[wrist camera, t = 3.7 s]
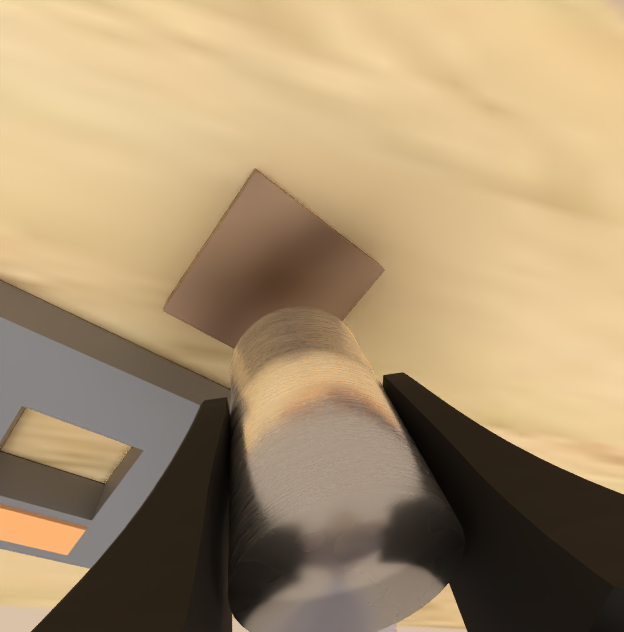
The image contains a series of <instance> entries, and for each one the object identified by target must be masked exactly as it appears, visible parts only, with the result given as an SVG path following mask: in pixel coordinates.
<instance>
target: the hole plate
mask: <svg viewBox="0 0 624 632" xmlns="http://www.w3.org/2000/svg"><path fill="white" fill-rule="evenodd" d="M224 397H227V399H228V405H229V411H230V406H231V390H230V389H227V388H225V387H223V386H221V385H219V384H217V383H215V382H213V381H211V380H209V379H206V378H204V377H202V376H200V375H198V374H196V373H194V372H192V371H190V370H188V369H186V368H183V367H181V366H179V365H177V364H175V363H173V362H171V361H169V360H167V359H165V358H162V357H160V356H158V355H156V354H154V353H152V352H150V351H148V350H146V349H144V348H142V347H139V346H137V345H135V344H133V343H131V342H129V341H127V340H125V339H123V338H121V337H118V336H116V335H114V334H112V333H110V332H108V331H106V330H104V329H102V328H100V327H97V326H95V325H93V324H91V323H89V322H87V321H85V320H83V319H81V318H79V317H77V316H74V315H72V314H70V313H68V312H66V311H64V310H62V309H60V308H58V307H56V306H53V305H51V304H49V303H47V302H45V301H43V300H41V299H39V298H37V297H35V296H33V295H30V294H28V293H26V292H24V291H22V290H20V289H18V288H16V287H14V286H12V285H9V284H7V283H5V282H3V281H1V280H0V450H1V448H2V446H3V445H4V443H5V441H6V440H7V438H8V436H9V435H10V433H11V431H12V430H13V428H14V426H15V425H16V423H17V421H18V420H19V418H20V416H21V415H22V413H23V411H24V410H25V408H29V409H31V410H34V411H37V412H40V413H42V414H45V415H48V416H51V417H53V418H56V419H59V420H61V421H64V422H67V423H70V424H72V425H75V426H78V427H81V428H83V429H86V430H89V431H92V432H94V433H97V434H100V435H103V436H105V437H108V438H111V439H114V440H116V441H119V442H122V443H125V444H127V445H130V446H133V447H132V448H131V449H130V451H129V452H128V453H127V455H126V456H125V458H124V459H123V460H122V462H121V463H120V464H119V466H118V467H117V468H116V470H115V471H114V473H113V474H112V475H111V477H110V478H109V479H108V481H107V482H106V484H102V483H99V482H96V481H93V480H90V479H86V478H83V477H80V476H77V475H74V474H70V473H67V472H64V471H61V470H58V469H55V468H51V467H48V466H45V465H42V464H39V463H35V462H32V461H29V460H26V459H23V458H20V457H16V456H13V455H10V454H7V453H4V452H0V549H4V550H9V551H13V552H18V553H22V554H27V555H31V556H36V557H40V558H45V559H49V560H54V561H58V562H63V563H67V564H72V565H77V566H81V567H86V568H90V569H91V568H92V566H93V565H94V564H95V563H96V562H97V561H98V560H99V558H100V557H101V556H102V555H103V554H104V552H105V551H106V550H107V549H108V548H109V546H110V545H111V544H112V543H113V542H114V540H115V539H116V538H117V537H118V536H119V534H120V533H121V532H122V531H123V529H124V528H125V527H126V525H127V524H128V523H129V522H130V520H131V519H132V518H133V516H134V515H135V514H136V512H137V511H138V510H139V508H140V507H141V506H142V504H143V503H144V501H145V500H146V499H147V497H148V496H149V494H150V493H151V491H152V490H153V488H154V487H155V485H156V484H157V482H158V481H159V479H160V478H161V476H162V475H163V473H164V471H165V470H166V468H167V467H168V465H169V464H170V462H171V460H172V459H173V457H174V455H175V453H176V452H177V450H178V448H179V446H180V445H181V443H182V441H183V440H184V438H185V436H186V434H187V432H188V430H189V428H190V426H191V424H192V422H193V420H194V418H195V416H196V414H197V412H198V410H199V407H200V405H201V404H202V402H203V401H204V400H209V399H217V398H224Z"/></svg>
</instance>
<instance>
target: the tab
mask: <svg viewBox="0 0 624 632" xmlns="http://www.w3.org/2000/svg"><path fill="white" fill-rule="evenodd" d="M383 271H384V269H383V268H382V267H381V266H380V265H379V264H378V263H377V262H375V261H374V260H373V259H372V258H370V257H369V256H368V255H366V254H365V253H364V252H362V251H361V250H360V249H359V248H357V247H356V246H355V245H353V244H352V243H351V242H349V241H348V240H347V239H346V238H344V237H343V236H342V235H340V234H339V233H338V232H336V231H335V230H334V229H333V228H331V227H330V226H329V225H327V224H326V223H325V222H323V221H322V220H321V219H320V218H318V217H317V216H316V215H314V214H313V213H312V212H311V211H309V210H308V209H307V208H305V207H304V206H303V205H301V204H300V203H299V202H298V201H296V200H295V199H294V198H292V197H291V196H290V195H288V194H287V193H286V192H285V191H283V190H282V189H281V188H279V187H278V186H277V185H275V184H274V183H273V182H272V181H270V180H269V179H268V178H266V177H265V176H264V175H262V174H261V173H260V172H259V171H257V170H256V169H254V171H253V172H252V174H251V175H250V177H249V178H248V180H247V181H246V183H245V184H244V186H243V187H242V189H241V190H240V192H239V193H238V195H237V196H236V198H235V199H234V201H233V202H232V204H231V205H230V207H229V208H228V210H227V211H226V213H225V214H224V216H223V217H222V219H221V220H220V222H219V223H218V225H217V226H216V228H215V229H214V231H213V232H212V234H211V235H210V237H209V238H208V240H207V241H206V243H205V244H204V246H203V247H202V249H201V250H200V252H199V253H198V255H197V256H196V258H195V259H194V261H193V262H192V264H191V265H190V267H189V268H188V270H187V271H186V273H185V274H184V276H183V277H182V279H181V280H180V282H179V283H178V285H177V286H176V288H175V289H174V291H173V292H172V294H171V295H170V297H169V298H168V300H167V301H166V303H165V306H164V309H163V311H164V312H166V313H168V314H170V315H172V316H174V317H176V318H178V319H180V320H181V321H183V322H185V323H187V324H189V325H191V326H193V327H195V328H197V329H198V330H200V331H202V332H204V333H206V334H208V335H210V336H212V337H214V338H215V339H217V340H219V341H221V342H223V343H225V344H227V345H229V346H230V347H232V348H234V349H235V347H236V345H237V343H238V341H239V339H240V338H241V336H242V335H243V334H244V333H245V331H246V330H247V329H248V328H249V327H250V326H251V325H253V324H254V323H255V322H256V321H258V320H259V319H261V318H262V317H264V316H266V315H268V314H270V313H273V312H276V311H278V310H282V309H286V308H294V307H308V308H315V309H319V310H323V311H325V312H328V313H330V314H332V315H334V316H336V317H337V318H338V319H340V320H341V321H343V319H344V318H345V317H346V316H347V315H348V313H349V312H350V311H351V310H352V309H353V307H354V306H355V305H356V304H357V303H358V301H359V300H360V299H361V298H362V297H363V295H364V294H365V293H366V292H367V291H368V289H369V288H370V287H371V286H372V285H373V283H374V282H375V281H376V280H377V279H378V277H379V276H380V275H381V274H382V273H383Z"/></svg>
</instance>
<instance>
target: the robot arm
mask: <svg viewBox="0 0 624 632" xmlns="http://www.w3.org/2000/svg"><path fill="white" fill-rule="evenodd" d="M383 388H384V390H385V392H386V393H387V395H388V397H389V399H390V401H391V402H392V404H393V406H394V408H395V409H396V411H397V413H398V415H399V416H400V418H401V420H402V422H403V423H404V425H405V427H406V429H407V430H408V432H409V434H410V436H411V437H412V439H413V441H414V443H415V444H416V446H417V448H418V450H419V451H420V453H421V455H422V457H423V459H424V460H425V462H426V464H427V466H428V467H429V469H430V471H431V473H432V474H433V476H434V478H435V480H436V481H437V483H438V485H439V487H440V488H441V490H442V492H443V494H444V495H445V497H446V499H447V501H448V502H449V504H450V506H451V508H452V509H453V511H454V513H455V515H456V516H457V518H458V520H459V522H460V524H461V526H462V528H463V531H464V536H465V549H464V554H463V558H462V561H461V563H460V566H459V567H458V569H457V571H456V573H455V575H454V576H453V577H452V579H451V580H450V581H449V584H450V587H451V589H452V592H453V594H454V597H455V600H456V602H457V605H458V608H459V610H460V613H461V616H462V618H463V621H464V624H465V626H466V629H467V632H624V494H621V493H618V492H616V491H613V490H611V489H608V488H606V487H603V486H601V485H598V484H596V483H593V482H591V481H588V480H586V479H584V478H582V477H579V476H577V475H575V474H573V473H570V472H568V471H566V470H564V469H561V468H559V467H557V466H555V465H553V464H551V463H549V462H547V461H544V460H542V459H540V458H538V457H536V456H534V455H533V454H531V453H529V452H527V451H525V450H523V449H521V448H519V447H517V446H515V445H513V444H512V443H510V442H508V441H506V440H504V439H503V438H501V437H499V436H497V435H496V434H494V433H493V432H491V431H489V430H488V429H486V428H484V427H483V426H481V425H479V424H478V423H476V422H475V421H473V420H471V419H470V418H468V417H467V416H465V415H464V414H462V413H461V412H459V411H458V410H456V409H455V408H453V407H452V406H450V405H449V404H447V403H446V402H445V401H443V400H442V399H440V398H439V397H437V396H436V395H435V394H433V393H432V392H430V391H429V390H428V389H426V388H425V387H424V386H422V385H421V384H419V383H418V382H417V381H415V380H414V379H412V378H411V377H409V376H408V375H406V374H405V373H396V374H389V375H383ZM229 475H230V411H229V405H228V399H227V397H224V398H217V399H209V400H204V401H203V402H202V404H201V405H200V407H199V410H198V412H197V414H196V416H195V418H194V420H193V422H192V424H191V426H190V428H189V430H188V432H187V434H186V436H185V438H184V440H183V441H182V443H181V445H180V446H179V448H178V450H177V452H176V453H175V455H174V457H173V459H172V460H171V462H170V464H169V465H168V467H167V468H166V470H165V471H164V473H163V475H162V476H161V478H160V479H159V481H158V482H157V484H156V485H155V487H154V488H153V490H152V491H151V493H150V494H149V496H148V497H147V499H146V500H145V501H144V503H143V504H142V506H141V507H140V508H139V510H138V511H137V512H136V514H135V515H134V516H133V518H132V519H131V520H130V522H129V523H128V524H127V525H126V527H125V528H124V529H123V531H122V532H121V533H120V534H119V536H118V537H117V538H116V539H115V540H114V542H113V543H112V544H111V545H110V546H109V548H108V549H107V550H106V551H105V552H104V554H103V555H102V556H101V557H100V558H99V560H98V561H97V562H96V563H95V564H94V565H93V566H92V568H91V569H90V570H89V571H88V572H87V573H86V574H85V576H84V577H83V578H82V579H81V580H80V581H79V582H78V583H77V584H76V585H75V586H74V587H73V588H72V589H71V591H70V592H69V593H68V594H67V595H66V596H65V597H64V598H63V599H62V600H61V601H60V602H59V603H58V604H57V605H56V606H55V607H54V608H53V609H52V610H51V612H50V613H49V614H48V615H47V616H46V617H45V618H44V619H43V620H42V621H41V622H40V623H39V624H38V625H37V626H36V627H35V628H34V629H33V630H32V631H31V632H232V612H231V609H230V606H229V602H228V545H229ZM376 632H397V629H396V624H393V625H391V626H389V627H386V628H384V629H382V630H379V631H376Z"/></svg>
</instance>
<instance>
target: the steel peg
mask: <svg viewBox="0 0 624 632" xmlns="http://www.w3.org/2000/svg"><path fill="white" fill-rule="evenodd" d="M464 549H465V536H464V531H463V528H462V526H461V524H460V522H459V520H458V518H457V516H456V515H455V513H454V511H453V509H452V508H451V506H450V504H449V502H448V501H447V499H446V497H445V495H444V494H443V492H442V490H441V488H440V487H439V485H438V483H437V481H436V480H435V478H434V476H433V474H432V473H431V471H430V469H429V467H428V466H427V464H426V462H425V460H424V459H423V457H422V455H421V453H420V451H419V450H418V448H417V446H416V444H415V443H414V441H413V439H412V437H411V436H410V434H409V432H408V430H407V429H406V427H405V425H404V423H403V422H402V420H401V418H400V416H399V415H398V413H397V411H396V409H395V408H394V406H393V404H392V402H391V401H390V399H389V397H388V395H387V393H386V392H385V390H384V388H383V386H382V385H381V383H380V381H379V379H378V378H377V376H376V374H375V372H374V371H373V369H372V367H371V365H370V364H369V362H368V360H367V358H366V357H365V355H364V353H363V351H362V350H361V348H360V346H359V344H358V343H357V341H356V339H355V337H354V336H353V334H352V332H351V331H350V329H349V328H348V327H347V326H346V325H345V324H344V323H343V322H342V321H341V320H340V319H338V318H337V317H336V316H334V315H332V314H330V313H328V312H325V311H323V310H319V309H315V308H308V307H294V308H286V309H282V310H278V311H276V312H273V313H270V314H268V315H266V316H264V317H262V318H261V319H259V320H258V321H256V322H255V323H254V324H253V325H251V326H250V327H249V328H248V329H247V330H246V331H245V333H244V334H243V335H242V336H241V338H240V339H239V341H238V343H237V345H236V347H235V349H234V352H233V355H232V361H231V406H230V475H229V545H228V602H229V606H230V609H231V612H232V614H233V615H234V617H235V619H236V620H237V621H238V622H239V623H240V624H241V625H242V626H243V627H244V628H246V629H247V630H248V631H249V632H376V631H379V630H382V629H384V628H386V627H389V626H391V625H393V624H395V623H397V622H399V621H401V620H403V619H404V618H406V617H408V616H410V615H411V614H413V613H414V612H416V611H417V610H419V609H421V608H422V607H423V606H424V605H426V604H427V603H428V602H430V601H431V600H432V599H433V598H434V597H435V596H436V595H438V594H439V593H440V592H441V591H442V590H443V588H444V587H445V586H446V585H447V584H448V583H449V581H450V580H451V579H452V577H453V576H454V575H455V573H456V571H457V569H458V567H459V566H460V563H461V561H462V558H463V554H464Z"/></svg>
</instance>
